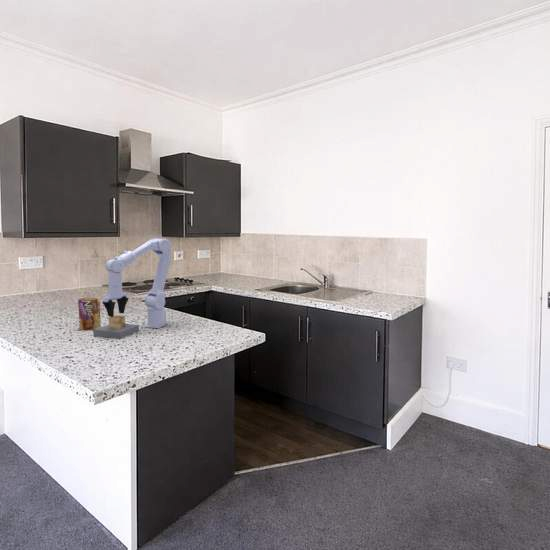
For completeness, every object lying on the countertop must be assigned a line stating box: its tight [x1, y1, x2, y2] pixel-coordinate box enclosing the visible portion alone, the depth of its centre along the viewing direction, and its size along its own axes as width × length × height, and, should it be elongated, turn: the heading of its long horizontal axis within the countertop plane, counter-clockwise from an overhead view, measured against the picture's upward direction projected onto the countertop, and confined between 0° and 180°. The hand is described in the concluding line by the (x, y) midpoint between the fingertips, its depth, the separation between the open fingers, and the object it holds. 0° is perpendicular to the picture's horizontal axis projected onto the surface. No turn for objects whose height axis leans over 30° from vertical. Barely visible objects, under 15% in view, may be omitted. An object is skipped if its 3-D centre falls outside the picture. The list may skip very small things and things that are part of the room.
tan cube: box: [108, 314, 126, 329], centre depth 181 cm, size 5×5×5 cm
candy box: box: [77, 296, 102, 331], centre depth 189 cm, size 9×4×15 cm, turn 100°
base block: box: [92, 323, 140, 340], centre depth 182 cm, size 14×14×3 cm
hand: (116, 314), depth 181 cm, fingers open, 7 cm apart
